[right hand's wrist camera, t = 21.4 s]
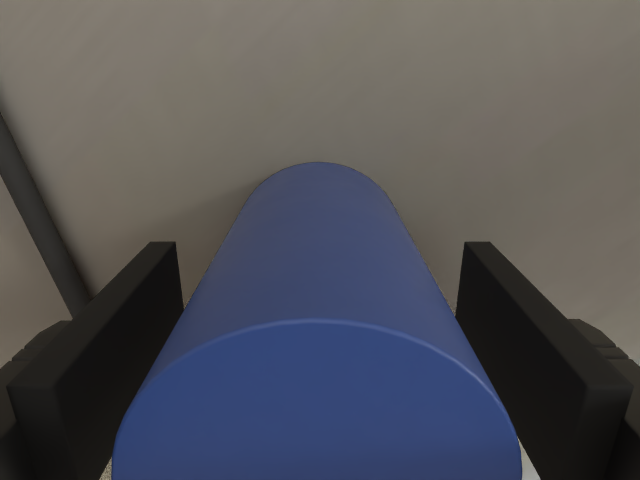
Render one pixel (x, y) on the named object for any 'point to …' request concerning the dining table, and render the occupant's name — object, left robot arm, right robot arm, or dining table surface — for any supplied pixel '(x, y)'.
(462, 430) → the canister
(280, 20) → the dining table surface
